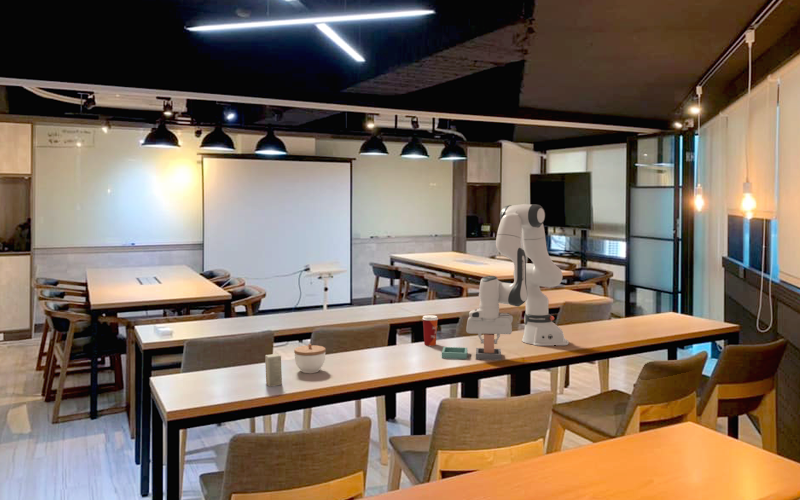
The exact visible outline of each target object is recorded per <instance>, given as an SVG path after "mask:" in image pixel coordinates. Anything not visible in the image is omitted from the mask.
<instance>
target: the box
mask: <svg viewBox="0 0 800 500" xmlns="http://www.w3.org/2000/svg"><path fill="white" fill-rule="evenodd" d="M264 363H265V384H266V385H267V386H268V387H276V386H280V385H282V384H283V377H282V376H283V375H282V373H283V372H282V355H280V354H279V353H273V354H265V361H264Z"/></svg>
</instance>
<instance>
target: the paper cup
mask: <svg viewBox="0 0 800 500" xmlns="http://www.w3.org/2000/svg"><path fill="white" fill-rule="evenodd" d="M438 320H439V318H438V316H437V315H433V314H430V315H429V314H428V315H423V316H422V326H423V341H424V346H428V347H429V346H430V347H435V346H436V345H437V332H438Z"/></svg>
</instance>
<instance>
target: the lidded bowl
mask: <svg viewBox="0 0 800 500" xmlns="http://www.w3.org/2000/svg"><path fill="white" fill-rule="evenodd" d="M293 351H294V361H295V364H296V366H297V368H298V370H300V371H301V373H303V374H313V373H314V374H315V373H318V372H320V370H321V369H322V367H323V366H324V364H325V361H326V351H327V350H326V347H324V346H322V345H314V344H313V345H312V343H308V345H301V346H298V347H295V348H294V350H293Z"/></svg>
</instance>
